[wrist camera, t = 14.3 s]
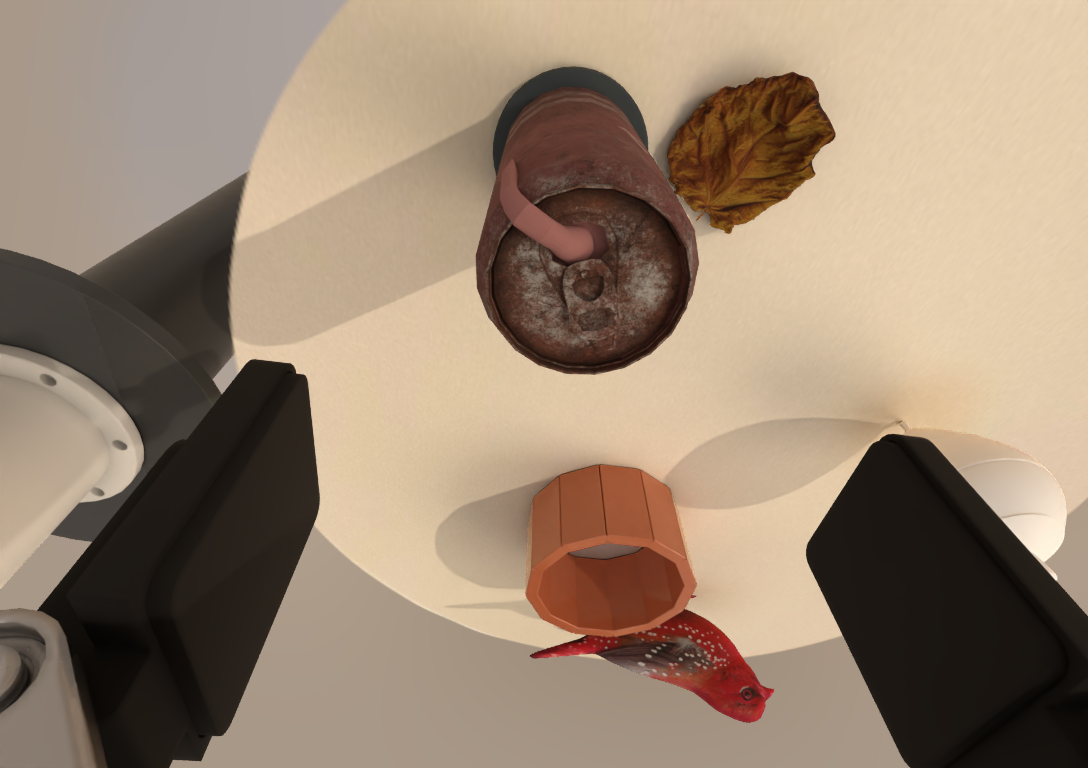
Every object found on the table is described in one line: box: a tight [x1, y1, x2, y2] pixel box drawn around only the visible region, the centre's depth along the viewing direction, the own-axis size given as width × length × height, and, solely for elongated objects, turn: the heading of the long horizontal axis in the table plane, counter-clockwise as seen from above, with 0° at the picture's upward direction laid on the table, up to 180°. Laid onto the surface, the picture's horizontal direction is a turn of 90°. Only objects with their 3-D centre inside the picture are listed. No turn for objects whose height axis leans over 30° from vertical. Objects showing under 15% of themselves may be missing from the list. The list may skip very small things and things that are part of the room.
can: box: [476, 87, 699, 375], centre depth 20 cm, size 6×6×14 cm
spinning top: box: [900, 422, 1067, 581], centre depth 31 cm, size 8×8×12 cm
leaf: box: [668, 72, 835, 234], centre depth 26 cm, size 6×7×2 cm
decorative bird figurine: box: [530, 595, 774, 723], centre depth 42 cm, size 3×18×10 cm, turn 85°
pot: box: [525, 465, 697, 637], centre depth 39 cm, size 11×11×6 cm
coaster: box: [493, 67, 648, 176], centre depth 26 cm, size 7×7×1 cm
